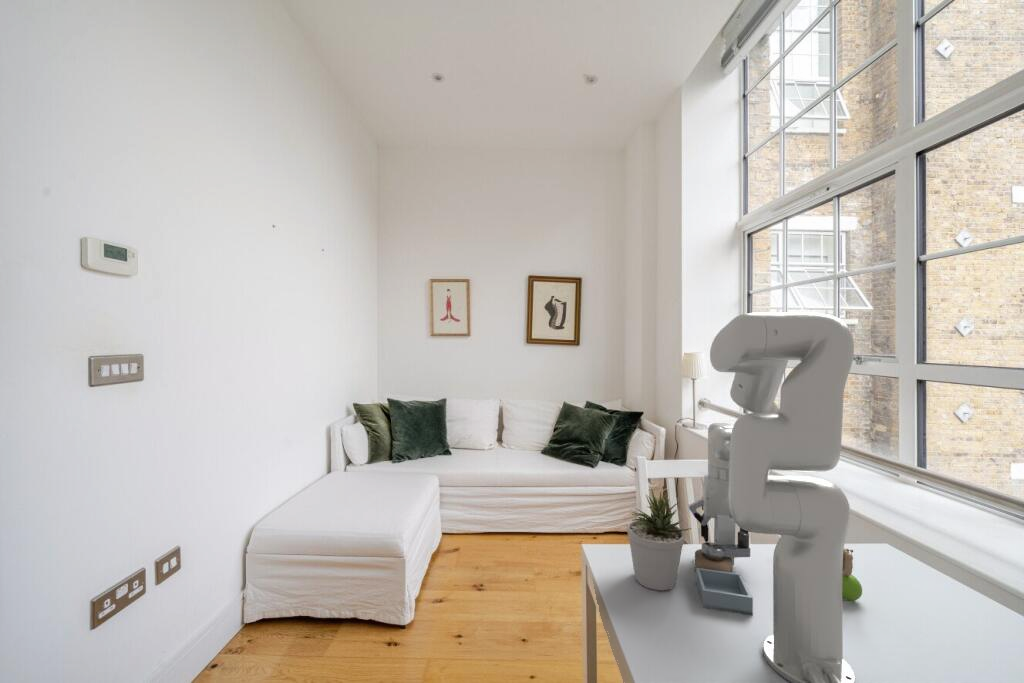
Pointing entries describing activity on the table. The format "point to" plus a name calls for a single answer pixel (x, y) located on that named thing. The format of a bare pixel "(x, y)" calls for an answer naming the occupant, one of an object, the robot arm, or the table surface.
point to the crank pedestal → (712, 563)
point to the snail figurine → (849, 579)
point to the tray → (724, 591)
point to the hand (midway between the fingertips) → (724, 541)
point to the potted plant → (656, 546)
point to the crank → (727, 549)
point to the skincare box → (724, 531)
